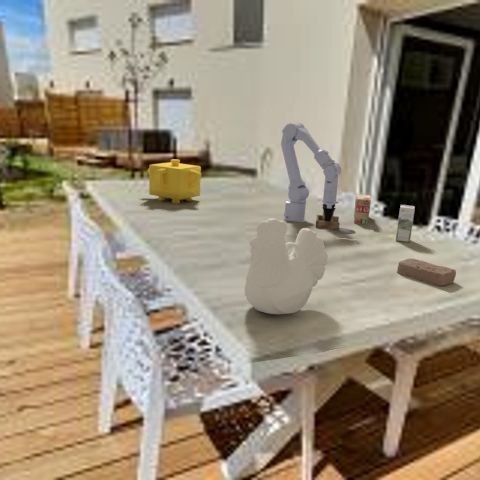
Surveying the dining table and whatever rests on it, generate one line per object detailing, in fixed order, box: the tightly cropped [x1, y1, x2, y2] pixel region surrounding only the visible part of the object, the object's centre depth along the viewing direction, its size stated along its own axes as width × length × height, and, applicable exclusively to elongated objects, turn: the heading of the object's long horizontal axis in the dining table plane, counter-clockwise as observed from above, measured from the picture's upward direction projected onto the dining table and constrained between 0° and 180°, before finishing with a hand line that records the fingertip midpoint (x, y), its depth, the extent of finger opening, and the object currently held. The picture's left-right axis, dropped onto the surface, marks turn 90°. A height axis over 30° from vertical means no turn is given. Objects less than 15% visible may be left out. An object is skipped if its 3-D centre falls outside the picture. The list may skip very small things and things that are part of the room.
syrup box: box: [395, 204, 416, 244], centre depth 209 cm, size 6×6×14 cm
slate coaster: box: [331, 227, 357, 235], centre depth 219 cm, size 10×10×1 cm
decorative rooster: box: [244, 217, 329, 315], centre depth 133 cm, size 25×16×25 cm, turn 110°
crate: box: [315, 214, 340, 230], centre depth 228 cm, size 10×13×4 cm
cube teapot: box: [146, 158, 202, 204], centre depth 268 cm, size 35×30×21 cm
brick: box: [396, 258, 457, 287], centre depth 166 cm, size 17×8×5 cm, turn 41°
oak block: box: [322, 209, 335, 222], centre depth 228 cm, size 4×4×6 cm
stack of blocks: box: [353, 193, 372, 225], centre depth 242 cm, size 21×6×12 cm, turn 168°
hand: (327, 221), depth 228 cm, fingers closed on oak block, 4 cm apart
